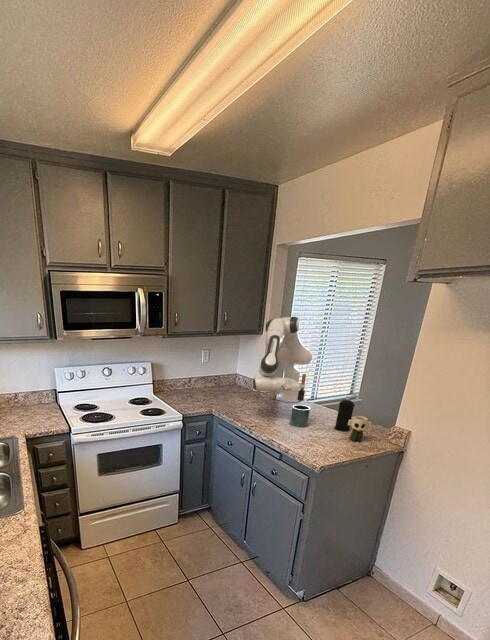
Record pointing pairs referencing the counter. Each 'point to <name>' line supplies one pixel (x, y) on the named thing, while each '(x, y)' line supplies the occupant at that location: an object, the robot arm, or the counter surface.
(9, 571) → the counter surface
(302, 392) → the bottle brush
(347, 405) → the aerosol can
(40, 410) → the counter surface
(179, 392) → the counter surface
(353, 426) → the cartoon character figurine
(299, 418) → the green cup
